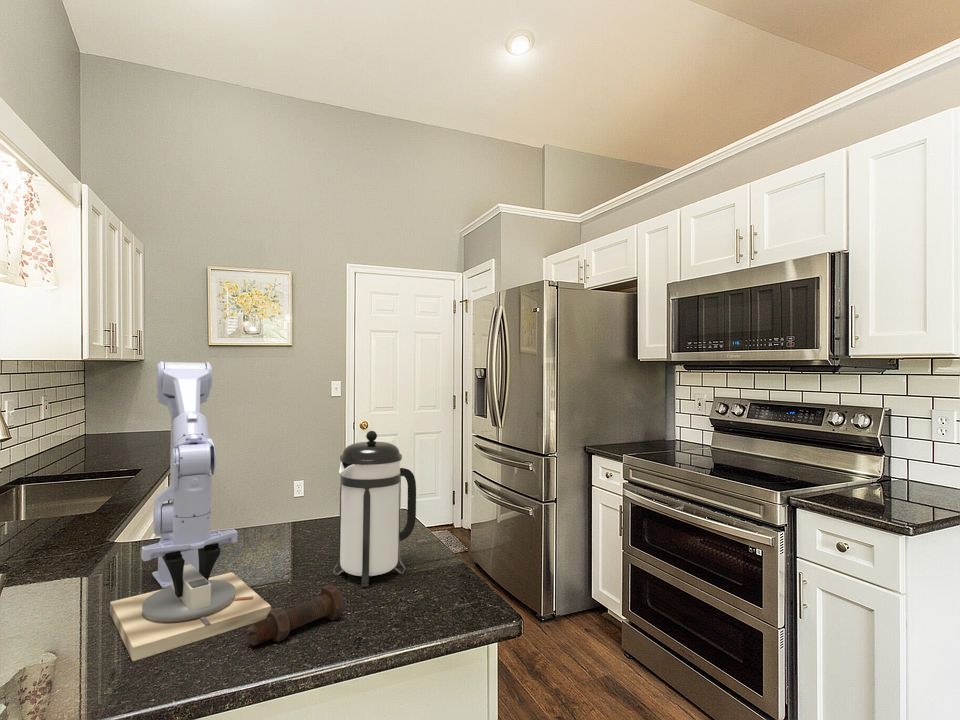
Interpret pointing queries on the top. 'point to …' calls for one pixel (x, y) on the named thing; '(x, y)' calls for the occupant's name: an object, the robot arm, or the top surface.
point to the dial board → (164, 636)
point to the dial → (188, 598)
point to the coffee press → (372, 508)
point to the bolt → (296, 616)
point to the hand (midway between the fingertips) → (190, 592)
